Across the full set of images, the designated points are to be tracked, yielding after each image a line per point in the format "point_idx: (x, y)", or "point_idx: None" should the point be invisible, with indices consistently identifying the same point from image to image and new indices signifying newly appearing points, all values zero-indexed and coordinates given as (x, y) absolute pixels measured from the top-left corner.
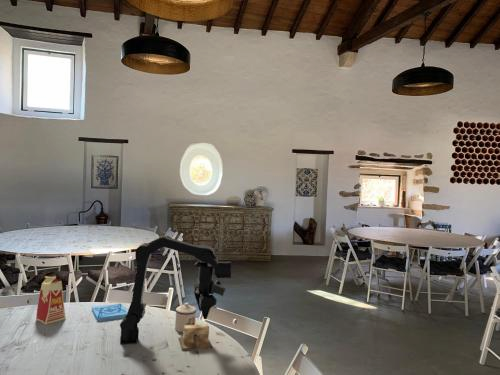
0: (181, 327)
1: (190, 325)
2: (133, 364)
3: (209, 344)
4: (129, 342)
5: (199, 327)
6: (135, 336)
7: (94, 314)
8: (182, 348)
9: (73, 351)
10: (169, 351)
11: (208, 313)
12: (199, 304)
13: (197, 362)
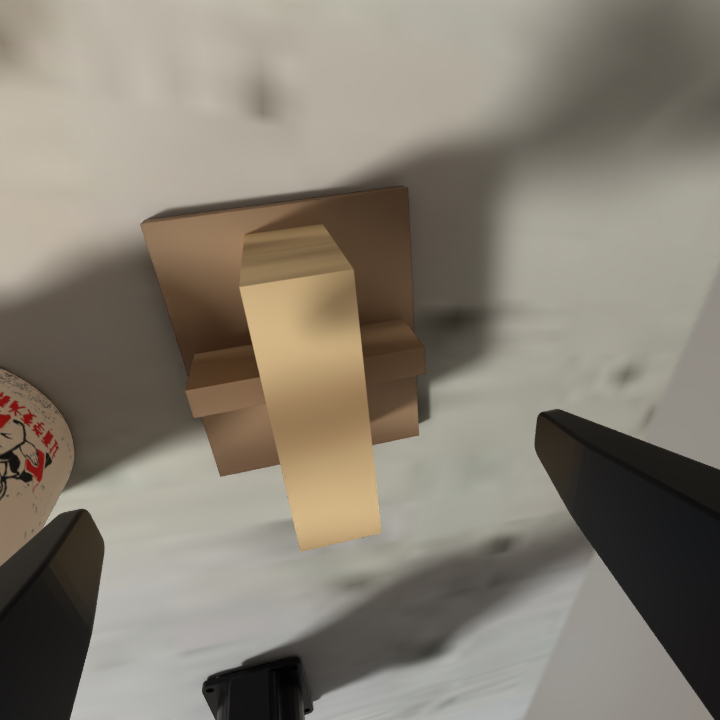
0: (56, 497)
1: (297, 493)
2: (525, 607)
3: (371, 213)
4: (306, 685)
5: (359, 396)
6: (279, 700)
7: None
8: (417, 432)
9: None
10: (419, 494)
11: (697, 461)
12: (44, 706)
13: (604, 320)
